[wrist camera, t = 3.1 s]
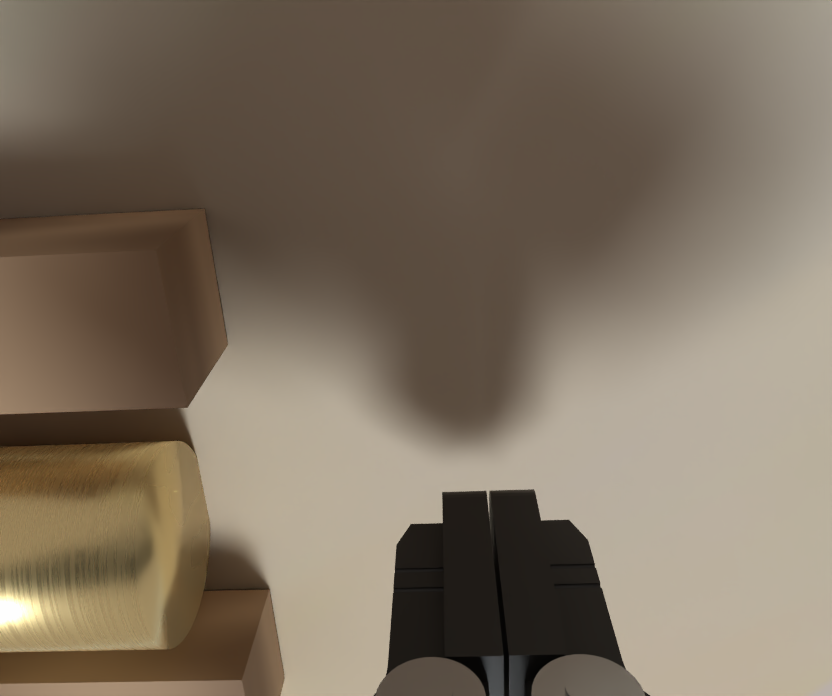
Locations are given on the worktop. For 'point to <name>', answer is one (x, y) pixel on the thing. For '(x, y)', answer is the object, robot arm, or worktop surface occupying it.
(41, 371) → the parallel bars
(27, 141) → the worktop surface
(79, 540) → the axle
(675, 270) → the worktop surface
